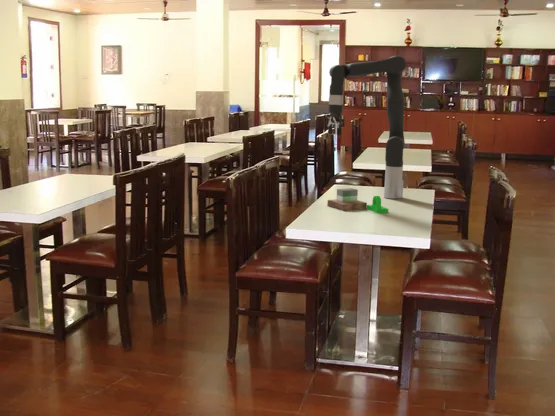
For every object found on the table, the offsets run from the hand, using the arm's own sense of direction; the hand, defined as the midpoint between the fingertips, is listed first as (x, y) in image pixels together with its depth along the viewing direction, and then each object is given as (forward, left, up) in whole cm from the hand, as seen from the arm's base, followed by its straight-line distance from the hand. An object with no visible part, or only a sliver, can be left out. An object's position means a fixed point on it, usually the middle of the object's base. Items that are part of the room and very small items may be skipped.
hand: (334, 134), depth 335 cm
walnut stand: (+9, +27, -34) cm, 44 cm away
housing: (+9, +27, -31) cm, 42 cm away
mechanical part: (0, +40, -35) cm, 53 cm away
